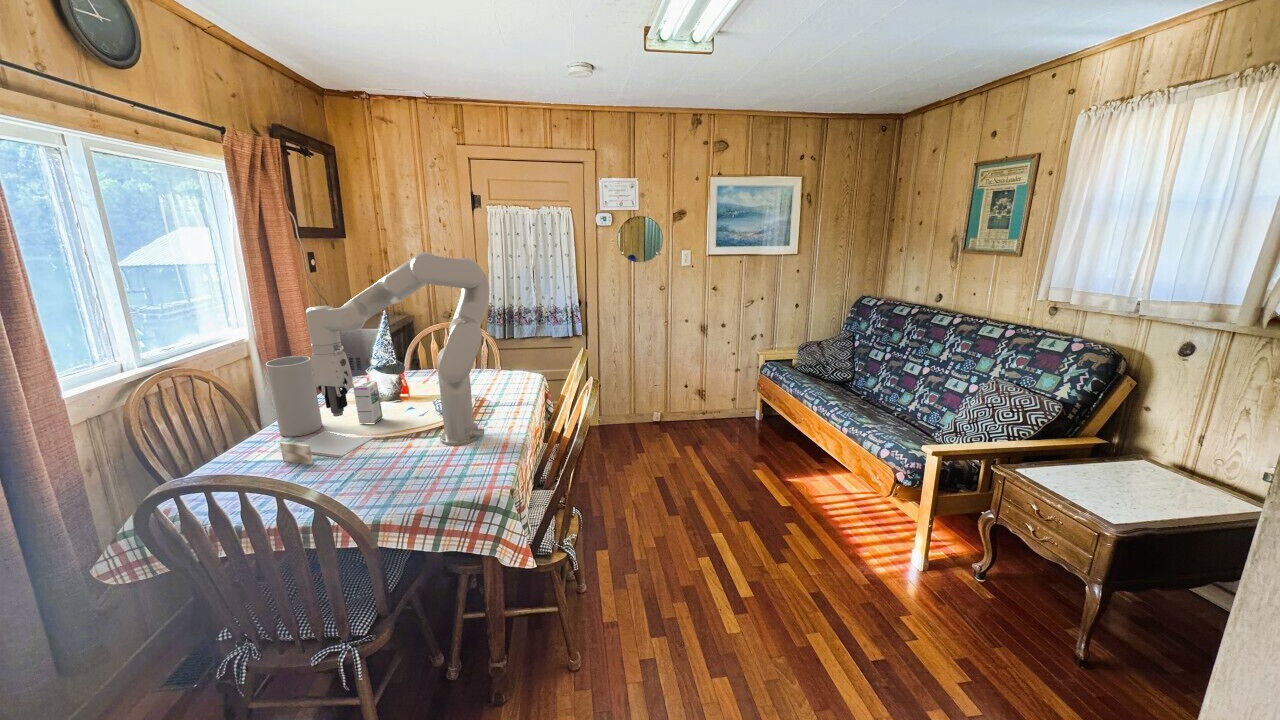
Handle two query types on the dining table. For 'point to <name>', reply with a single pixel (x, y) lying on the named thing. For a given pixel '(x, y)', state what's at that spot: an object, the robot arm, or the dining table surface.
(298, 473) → the dining table surface
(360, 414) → the syrup box
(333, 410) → the marker
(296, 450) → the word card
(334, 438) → the notepad
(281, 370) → the cylinder vase
